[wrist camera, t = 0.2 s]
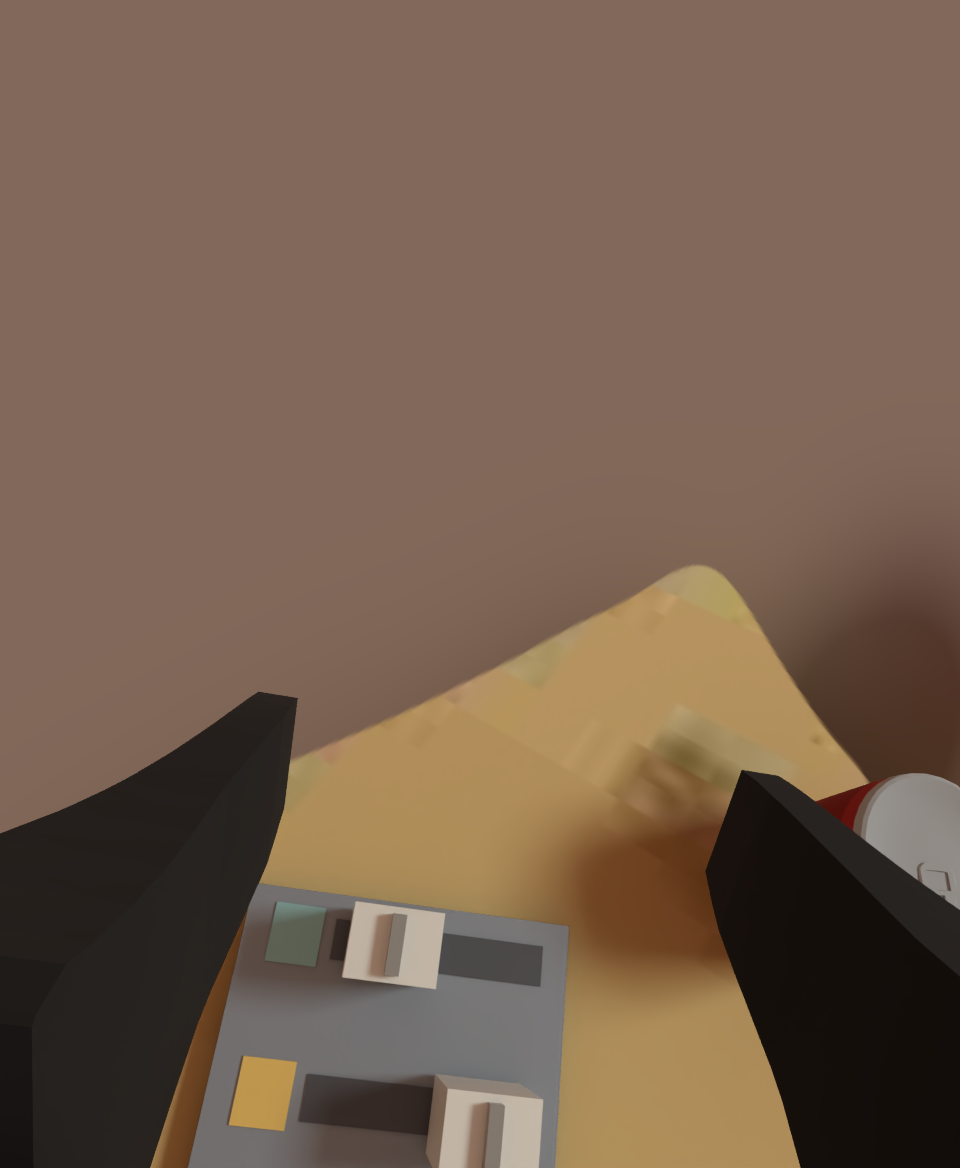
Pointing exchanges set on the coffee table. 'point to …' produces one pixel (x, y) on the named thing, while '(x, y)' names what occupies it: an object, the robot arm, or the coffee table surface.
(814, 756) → the coffee table surface
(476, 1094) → the slider
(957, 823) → the canned food
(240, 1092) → the switch panel
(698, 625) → the coffee table surface
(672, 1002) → the coffee table surface
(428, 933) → the slider
